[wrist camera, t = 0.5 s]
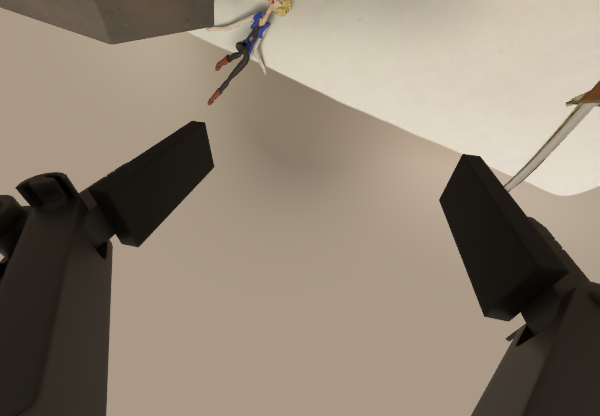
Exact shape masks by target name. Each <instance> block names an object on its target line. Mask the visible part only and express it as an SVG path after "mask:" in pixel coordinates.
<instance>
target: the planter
mask: <svg viewBox="0 0 600 416" xmlns="http://www.w3.org/2000/svg"><path fill="white" fill-rule="evenodd" d="M0 7H1V8H4V9H7V10H10V11H13V12H16V13H19V14H22V15H25V16H28V17H31V18H34V19H36V20H40V21H43V22H45V23H48V24H52V25H54V26H57V27H60V28H63V29H66V30H69V31H72V32H75V33H78V34H81V35H84V36H87V37H90V38H93V39H96V40H99V41H102V42H105V43H108V44H117V43H123V42H129V41H134V40H140V39H146V38H151V37H157V36H162V35H168V34H174V33H179V32H185V31H191V30H196V29H202V28H207V27H212V26H214V0H0Z"/></svg>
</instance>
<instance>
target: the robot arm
mask: <svg viewBox="0 0 600 416" xmlns="http://www.w3.org/2000/svg"><path fill="white" fill-rule="evenodd" d="M213 168H214V164H213V159H212V154H211V150H210V145H209V140H208V135H207V130H206V125H205V123H204V122H196V121H191V122H190V123H188V124H187V125H185V126H183V127H182V128H180V129H179V130H177V131H176V132H174V133H173V134H171V135H170V136H168V137H167V138H165V139H164V140H162V141H161V142H159V143H158V144H156V145H154V146H153V147H151V148H150V149H148V150H147V151H145V152H144V153H142V154H141V155H139V156H138V157H136V158H135V159H133V160H132V161H130V162H128V163H126V164H124V165H122V166H121V167H119V168H117V169H116V170H115V171H114V172H111V173H110V174H108V175H107V177H103V178H102V179H100V180H99V181H97V182H96V183H94V184H93V185H91V186H90V187H88V188H86V189H85V190H83V191H82V192H80V193H78V192H77V190H76V189H75V188H74V186H73V184H72V183H71V181H70V180H69V178H68V177H67V175H65V174H63V173H57V172H54V173H45V174H41V175H37V176H34V177H31V178H29V179H26V180H25V181H23V182H21V183H20V184H19V185H18V186H17V187H16V189H17V190H18V192H19V193H20V194H21V195H22V196H23V197H24V198H25V200H26V201H27V202H28V203H29V204H30V206H21V205H20V204H19V203H18V202H17V201H16V200H15V199H14V197H12V196H9V195H0V253H1V254H2V255H3V256H4V258H3V259H2V261H0V416H106V404H107V378H108V352H109V326H110V301H111V299H110V298H111V274H112V248H113V247H112V243H111V241H110V240H109V239H110V238H111V237H112V236H113V235H114V234H116V235H117V237H118V238H119V240H120V242H121V243H122V244H125V245H130V246H135V247H139V246H140V245H141V244H142V243H143V242H144V241H145V240H146V239H147V238H148V237H149V236H150V234H151V233H152V232H153V231H154V230H155V229H156V228H157V227H158V226H159V225H160V224H161V223H162V222H163V221H164V220H165V218H167V217H168V215H169V214H170V213H171V212H172V211H173V210H174V209H175V208H176V207H177V206H178V205H179V204H180V203H181V202H182V201H183V199H184V198H185V197H186V196H187V195H188V194H189V193H190V192H191V191H192V190H193V189H194V188H195V187H196V186H197V185H198V184H199V182H201V181H202V179H203V178H204V177H205V176H206V175H207V174H208V173H209V172H210V171H211V170H212V169H213ZM439 201H440V204H441V206H442V209H443V211H444V214H445V216H446V219H447V222H448V224H449V227H450V229H451V232H452V234H453V237H454V240H455V242H456V245H457V247H458V250H459V253H460V255H461V258H462V260H463V263H464V265H465V268H466V270H467V273H468V276H469V278H470V281H471V283H472V286H473V289H474V291H475V294H476V296H477V299H478V301H479V304H480V307H481V309H482V312H483V314H484V316H485V317H489V318H494V319H499V320H504V321H510V320H511V319H513V318H514V317H515V316H516V315H517V314H519V313H520V312H521V314H522V316H523V318H524V320H525V321H526V324H525V325H523V326H522V327H521V328H519V329H518V330H516V331H515V332H514V333H512V334H511V335H510V336H508V337H507V338H506V340H508V341H511V340H512V339H513V341H512V343H511V344H510V346H509V348H508V350H507V352H506V354H505V355H504V357H503V359H502V361H501V363H500V364H499V366H498V368H497V370H496V372H495V374H494V375H493V377H492V379H491V380H490V382H489V384H488V386H487V388H486V390H485V391H484V393H483V395H482V397H481V399H480V400H479V402H478V404H477V406H476V408H475V409H474V411H473V413H472V415H471V416H600V284H598V283H594V282H590V281H589V279H588V278H587V277H586V276H585V274H584V273H583V272H582V271H581V270H580V268H579V267H578V266H577V265H576V264H575V263H574V261H573V260H572V259H571V258H570V256H569V255H568V254H567V253H566V251H565V250H562V247H561V245H560V244H559V243H558V242H557V241H555V238H554V237H553V236H552V234H551V233H550V232H549V231H548V230H547V228H546V227H544V226H543V225H542V224H540V223H539V222H537V221H536V220H535V219H534V218H532V217H527V216H526V215H525V213H524V212H523V211H522V210H521V208H520V207H519V206H518V204H517V203H516V202H515V201H514V199H513V198H512V197H511V196H510V194H509V193H508V192H507V190H506V189H505V188H504V186H503V185H502V184H501V183H500V181H499V180H498V179H497V177H496V176H495V175H494V174H493V172H492V171H491V170H490V169H489V167H488V166H487V165H486V163H485V162H484V161H483V159H482V158H481V157H480V156H474V155H466V154H462V156H461V158H460V161H459V162H458V164H457V166H456V168H455V170H454V172H453V174H452V176H451V178H450V180H449V182H448V184H447V186H446V188H445V190H444V192H443V194H442V195H441V197H440V199H439Z"/></svg>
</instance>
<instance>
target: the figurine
mask: <svg viewBox="0 0 600 416" xmlns="http://www.w3.org/2000/svg"><path fill="white" fill-rule="evenodd" d="M268 4H269V8H268V10H267V12H266V14H265V15H264V16H263V18H262V13H261V12H258V13H256V14H253V15H250V16H248V17H246V18H244V19H241V20H239V21H237V22H235V23H233V24H230V25H228V26H226V27H210V28H208V29H207V30H209V31H228V30H230V29H233V28H235V27H238V26H240V25H242V24H245V23H248V22H252V21H255V22H254V23H253V24H252V25H251V29H252V28H253V30H252V32H251V33H250V34H249V36H248V37H247V39H245V40H243V41H242V42H238V43H237V44H236V48H237V50H238V51H239V52H235V53H233V54H231V55H227V56H225V57H224V58H223V59H222V60H221V61H220V62H218V63H217V65H216V71H218V70H220V68H221V67H222V66H223V65H226V64H227V63H229V62H231V61H232V60H234V59H237V58H239V57H240V56H241V55H242V54H243V55H244V58H243V59H242V60H241V61H240V63H239V64H238V65H237V66H236V67H235V69H234V70H233V71H232V73H231V74H230V75H229V77H228V79H227V80H226V81H225V82H224V83H223V84H222V85H221V87H220V88H218V89H217V90H216V92H215V93H214V94H213V95H212V97H211V98H210V99H209V101H208V105H211V104H212V103H213V101H214V100H215V99H216V98H217V97H218V96H219V95H221V93H222V91H223V90H224V89H225V88H226V87H227V86H228V84H229V82H230V81H231V79H232V78H234V77H235V76H236V75H237V74H238V73H239V72H240V71H241V70H242V69H243V68H244V67H245V66H246V65H247V63H248V61H249V58H250V54H251V52H252V49H253V52H254V55H255V57H256V58H257V60H258V62H259V63H260V65H261V67H262V69H263V71H264V73H265V74H266V72H265V71H266V69H265V67H264V65H263V63H262V60H261V59H260V57H259V55H258V53H257V48H258V45H259V43H260V41H261V39H262V38H263V36H264V34H265V32H266V30H267V28H268V26H269V25H270V23H269V22H268V23H266V21H267V19H268V16H269V14H270V13H271V11H273V12H274V13H276V14H278V13H279V15H280V16H285V15H286V13H287V11H288V12H289V9H290V10H291V2H290V0H268ZM289 4H290V5H289ZM258 37H259V38H258ZM257 38H258V40H257V41H256V39H257ZM255 41H256V43H255ZM254 43H255V45H254ZM253 45H254V46H253Z"/></svg>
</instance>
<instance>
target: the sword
mask: <svg viewBox="0 0 600 416" xmlns="http://www.w3.org/2000/svg"><path fill="white" fill-rule="evenodd" d="M573 99H574V100H573ZM573 99H571V100H572V101H569V102H567V103H566V105H567V107H568V106H571V105H573V104H578V106H577V107H576V108H575V109H574V110H573V112H572V113H571V114H570V115H569V116H568V118H567V119H566V120H565V121H564V122H563V124H562V125H561V126H560V127H559V128H558V130H557V131H556V132H555V133H554V134H553V135H552V137H551V138H550V139H549V140H548V141H547V142H546V143H545V145H544V146H543V147H542V148H541V149H540V150H539V151H538V152H537V154H536V155H535V156H534V157H533V158H532V159H531V160H530V161H529V162H528V163H527V164H526V165H525V167H523V168H522V169H521V170H520V171H519V172H518V173H517V174H516V175H515V176H514V177H513V178H512V179H511V180H510V181H509V182H508V183H507V184H505V185H504V188H505V189H506V190H507V192H509V191H510V190H511V189H513V188H514V187H515V186H517V185H518V184H520V183H521V182H522V181H523V180H524V179H525V178H526V177H528V176H529V175H530V174H531V173H532V172H533V171H534V170H535V169H536V168H537V167H538V166H539V165H540V164H541V163H542V162H543V161H544V160H545V159H546V158H547V157H548V156H549V155H550V154H551V152H552V151H553V150H554V149H555V148H556V147H557V146H558V145H559V144H560V143H561V142H562V141H563V140H564V139H565V138H566V137H567V135H568V134H569V133H570V132H571V131H572V130H573V129H574V128H575V127H576V126H577V124H578V123H579V122H580V121H581V120H582V119H583V118H584V117H585V116H586V115H587V114H588V113H589V112H590V111H591V110H592V109H593V108H594V107H595V106H600V81H599V82H598V83H597V84H596V86H595V87H594V88H593V89H592V90H591V91H589V92H587V93H584V94H582V95H580V96H577V97H575V98H573Z"/></svg>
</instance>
